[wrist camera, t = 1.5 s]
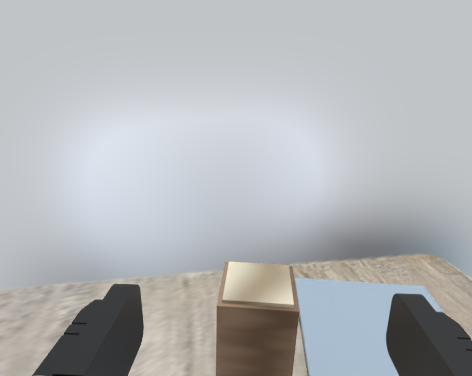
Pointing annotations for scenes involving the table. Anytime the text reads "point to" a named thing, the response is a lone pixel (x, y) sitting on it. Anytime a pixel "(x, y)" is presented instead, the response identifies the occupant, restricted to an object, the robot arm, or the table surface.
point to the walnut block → (256, 320)
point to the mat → (348, 325)
